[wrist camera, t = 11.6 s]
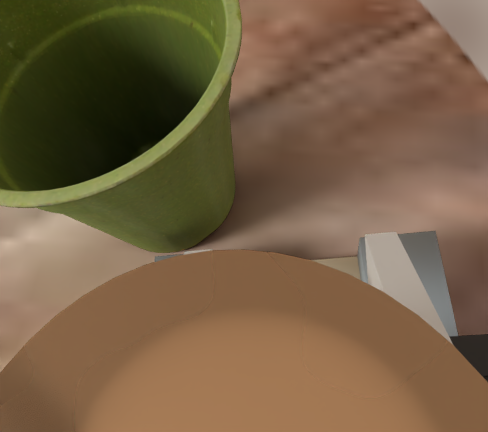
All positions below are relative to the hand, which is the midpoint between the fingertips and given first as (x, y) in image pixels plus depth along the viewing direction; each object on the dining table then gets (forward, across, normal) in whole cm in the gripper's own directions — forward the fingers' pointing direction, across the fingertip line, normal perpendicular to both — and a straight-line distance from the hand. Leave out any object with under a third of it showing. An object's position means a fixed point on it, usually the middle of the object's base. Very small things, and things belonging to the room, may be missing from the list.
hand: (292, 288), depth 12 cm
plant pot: (+13, -7, -1) cm, 15 cm away
